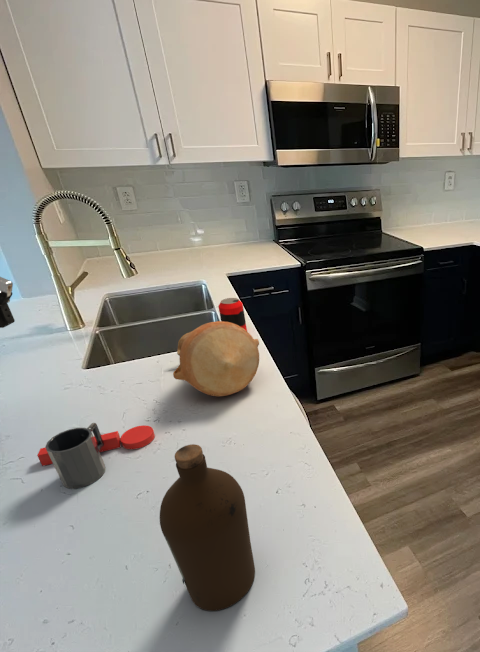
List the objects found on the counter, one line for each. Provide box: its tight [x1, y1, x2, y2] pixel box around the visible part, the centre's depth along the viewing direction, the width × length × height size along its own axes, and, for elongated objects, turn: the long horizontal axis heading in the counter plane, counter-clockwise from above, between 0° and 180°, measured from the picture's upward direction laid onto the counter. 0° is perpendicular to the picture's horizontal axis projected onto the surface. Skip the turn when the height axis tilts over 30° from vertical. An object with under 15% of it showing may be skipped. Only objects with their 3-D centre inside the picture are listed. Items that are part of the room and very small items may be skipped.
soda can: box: [218, 297, 248, 332], centre depth 139 cm, size 8×8×12 cm
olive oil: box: [159, 443, 256, 612], centre depth 58 cm, size 11×11×25 cm
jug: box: [172, 320, 260, 397], centre depth 112 cm, size 20×19×30 cm
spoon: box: [36, 424, 156, 467], centre depth 89 cm, size 21×6×3 cm, turn 114°
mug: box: [44, 422, 107, 490], centre depth 83 cm, size 11×7×9 cm, turn 0°
